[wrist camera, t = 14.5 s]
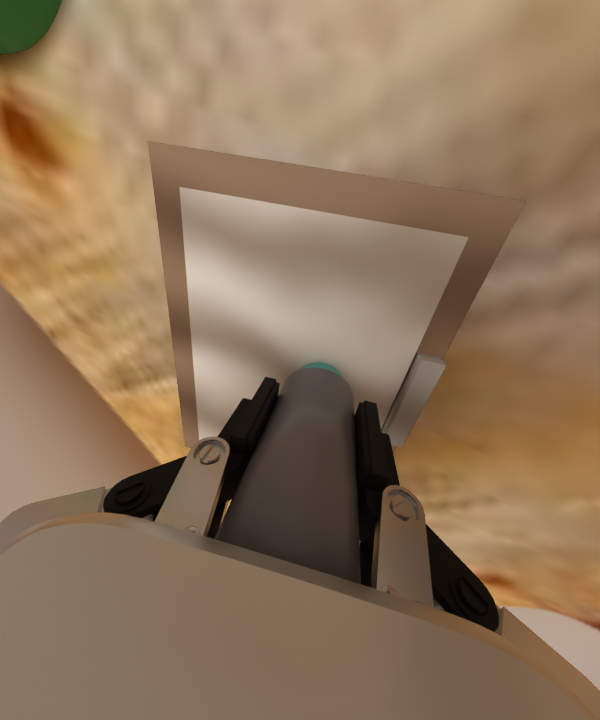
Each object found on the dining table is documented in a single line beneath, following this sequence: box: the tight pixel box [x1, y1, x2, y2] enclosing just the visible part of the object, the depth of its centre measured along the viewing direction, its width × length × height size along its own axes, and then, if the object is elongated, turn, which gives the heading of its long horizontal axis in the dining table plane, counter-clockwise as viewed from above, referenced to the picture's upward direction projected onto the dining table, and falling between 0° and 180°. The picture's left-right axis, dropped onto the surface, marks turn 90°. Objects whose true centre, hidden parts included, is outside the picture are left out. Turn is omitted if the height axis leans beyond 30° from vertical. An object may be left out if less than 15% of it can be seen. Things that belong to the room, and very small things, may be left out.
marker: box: [215, 363, 361, 584], centre depth 9 cm, size 4×4×12 cm
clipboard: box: [148, 141, 526, 452], centre depth 14 cm, size 20×16×2 cm
